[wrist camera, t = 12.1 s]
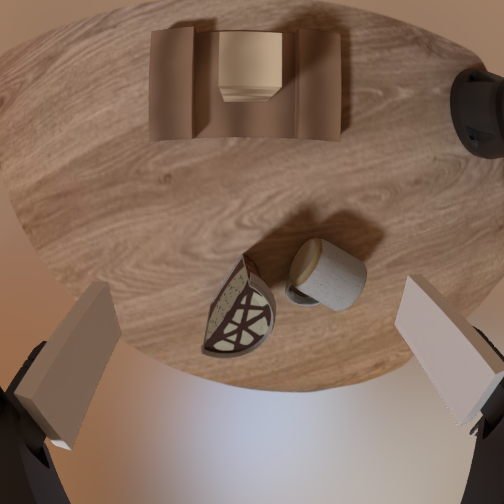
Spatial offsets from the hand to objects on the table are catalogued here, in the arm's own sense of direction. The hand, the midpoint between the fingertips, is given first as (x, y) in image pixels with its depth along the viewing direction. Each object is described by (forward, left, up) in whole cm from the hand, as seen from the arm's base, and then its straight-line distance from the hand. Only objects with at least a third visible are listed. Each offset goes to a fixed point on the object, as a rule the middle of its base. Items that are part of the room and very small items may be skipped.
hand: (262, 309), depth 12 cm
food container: (0, +15, -27) cm, 30 cm away
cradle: (0, -13, -26) cm, 30 cm away
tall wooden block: (0, -13, -26) cm, 29 cm away
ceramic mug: (-10, +12, -27) cm, 31 cm away
